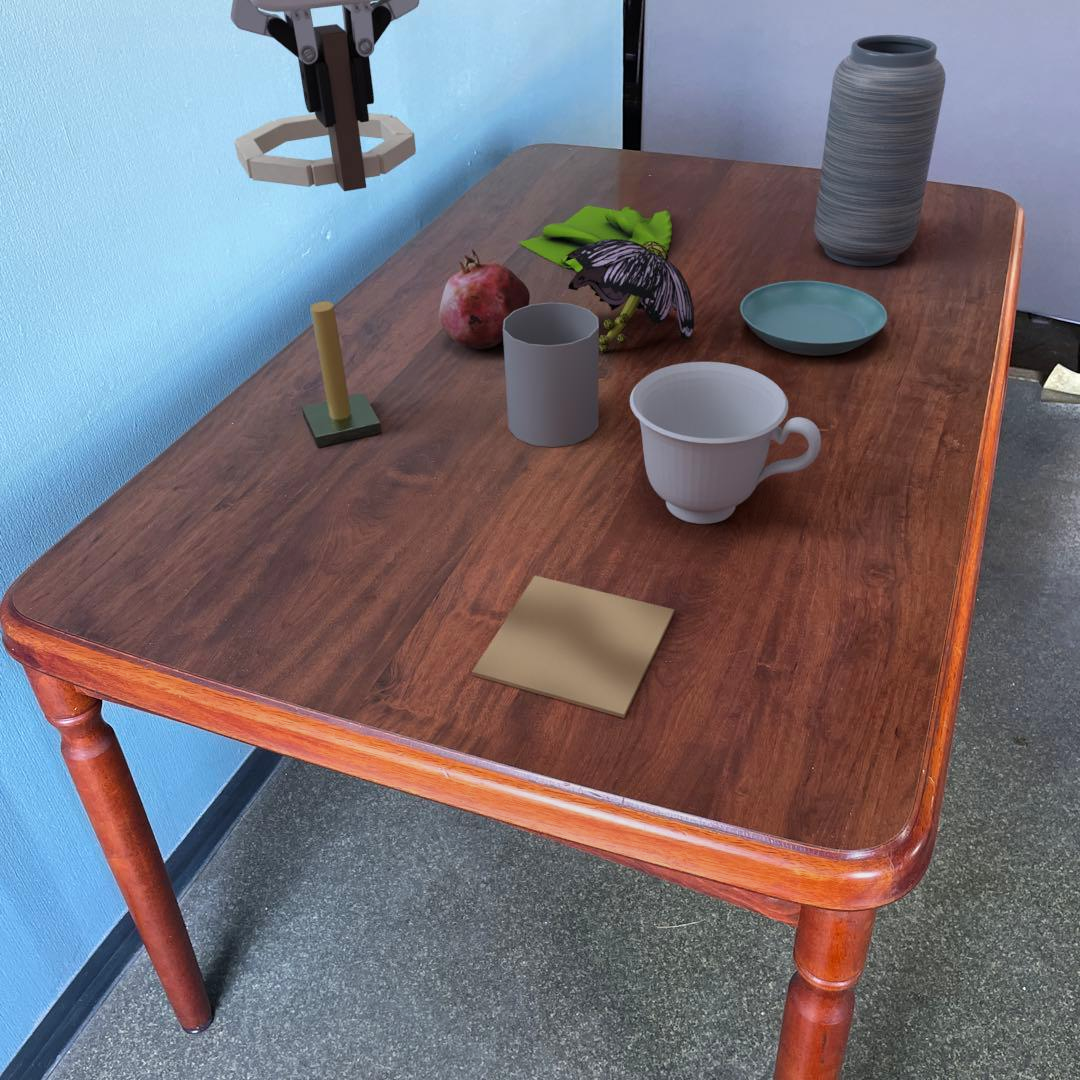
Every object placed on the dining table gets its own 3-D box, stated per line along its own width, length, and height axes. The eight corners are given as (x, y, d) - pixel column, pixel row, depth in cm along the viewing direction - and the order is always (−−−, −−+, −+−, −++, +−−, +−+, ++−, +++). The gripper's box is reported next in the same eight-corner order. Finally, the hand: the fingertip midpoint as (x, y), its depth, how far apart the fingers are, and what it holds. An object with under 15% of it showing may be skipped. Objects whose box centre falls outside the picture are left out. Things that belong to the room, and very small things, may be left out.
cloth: (580, 289, 122) (580, 269, 120) (496, 227, 137) (495, 208, 136) (729, 251, 129) (730, 231, 127) (633, 196, 144) (633, 178, 143)
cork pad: (624, 718, 70) (624, 714, 70) (472, 675, 74) (471, 671, 73) (674, 613, 78) (674, 609, 78) (534, 579, 81) (534, 575, 81)
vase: (792, 255, 127) (817, 47, 113) (842, 225, 134) (871, 26, 120) (882, 280, 121) (919, 64, 107) (929, 248, 128) (971, 40, 114)
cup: (497, 441, 97) (491, 341, 91) (520, 396, 103) (515, 299, 97) (589, 451, 95) (588, 349, 89) (606, 404, 101) (607, 306, 95)
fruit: (548, 332, 114) (545, 242, 107) (496, 370, 107) (490, 276, 101) (478, 313, 118) (472, 225, 112) (424, 349, 112) (414, 257, 105)
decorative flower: (744, 259, 103) (598, 232, 98) (715, 379, 106) (573, 357, 102) (685, 245, 116) (555, 220, 112) (662, 352, 120) (534, 331, 115)
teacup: (784, 575, 81) (800, 464, 75) (603, 525, 86) (604, 419, 80) (827, 491, 89) (844, 385, 83) (659, 451, 95) (664, 349, 89)
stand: (317, 448, 97) (294, 327, 90) (303, 416, 101) (280, 299, 94) (382, 433, 99) (364, 313, 91) (365, 403, 103) (347, 286, 96)
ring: (228, 145, 83) (199, 2, 76) (384, 121, 86) (368, -17, 80) (265, 205, 72) (235, 45, 66) (441, 175, 76) (427, 21, 70)
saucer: (914, 344, 109) (919, 320, 107) (797, 381, 104) (800, 356, 102) (820, 291, 119) (824, 268, 118) (710, 321, 114) (711, 298, 113)
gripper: (408, -225, 66) (435, 90, 77) (145, -211, 61) (214, 121, 73) (448, -221, 60) (471, 117, 72) (162, -205, 56) (234, 153, 67)
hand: (341, 117), depth 72 cm, fingers closed on ring
